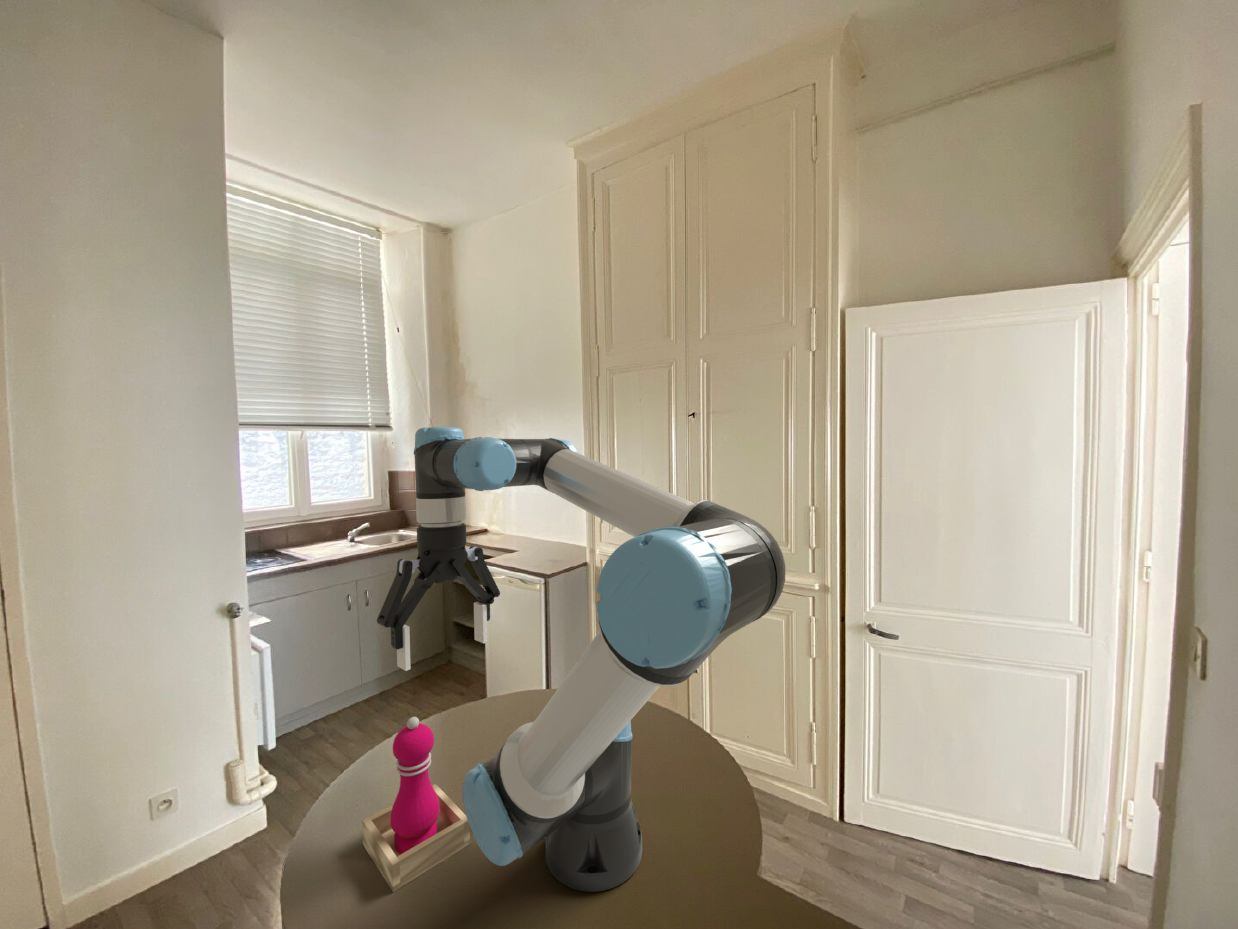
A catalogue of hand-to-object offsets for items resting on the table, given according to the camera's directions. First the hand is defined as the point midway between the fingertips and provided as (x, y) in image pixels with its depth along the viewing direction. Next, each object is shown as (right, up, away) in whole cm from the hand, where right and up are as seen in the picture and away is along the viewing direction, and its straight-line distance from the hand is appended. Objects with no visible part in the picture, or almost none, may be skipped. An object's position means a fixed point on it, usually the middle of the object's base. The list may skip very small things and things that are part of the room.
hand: (444, 653), depth 81 cm
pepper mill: (-4, -29, -2) cm, 29 cm away
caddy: (-4, -30, -2) cm, 30 cm away
